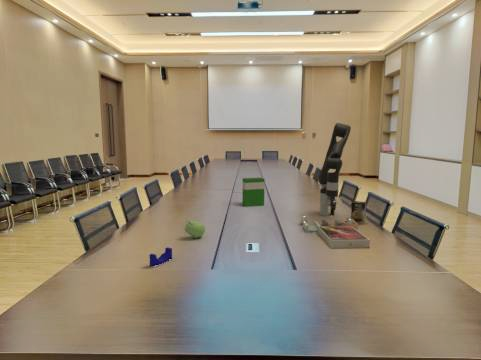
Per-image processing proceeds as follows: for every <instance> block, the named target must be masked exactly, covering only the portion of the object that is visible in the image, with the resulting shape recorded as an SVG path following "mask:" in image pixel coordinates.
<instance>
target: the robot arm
mask: <svg viewBox="0 0 481 360" xmlns="http://www.w3.org/2000/svg"><path fill="white" fill-rule="evenodd" d="M350 133H351V125H349V124H344V123H340V122H337V123H335V124H334V126H333V130H332V134H331V138H330V141H329V142H330V143H329V146H328V148H327V151H326V154H325V158H324V161H323V164H322V167H321V170H320V172H319V174H318V178H317V179H318V183H319V184H320V185H325V186H324V187H322V188H320V194H319V215H320V216H323V217H324V216H325V217H328V216H327V214H328V206H329V205H330V209H331V210H330V215H331V216H333V217H335V216H334V210H335V211H336V208H337V201H336V198H337V197H339V188H340V187H339V178H340V173H341V169H342V166H343V160H342V159H341V158H342V155H343V151H344V149H345V146H346V143H347V142H348V139H349V136H350ZM337 137H338V138H341V139H340V140H338V139H337ZM337 140H338V141H337ZM330 170H334V172H330ZM331 216H330V217H331Z"/></svg>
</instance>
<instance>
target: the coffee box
mask: <svg viewBox="0 0 481 360" xmlns="http://www.w3.org/2000/svg"><path fill="white" fill-rule="evenodd" d="M350 210H351V212H350V218H353V219H354V221H355V222H356V223H357V224H358V225H365V224H366V214H367V201H361V200H360V201H358V200H357V201H356V200H353V201H351V209H350Z"/></svg>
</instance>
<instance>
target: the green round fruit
mask: <svg viewBox="0 0 481 360" xmlns="http://www.w3.org/2000/svg"><path fill="white" fill-rule="evenodd" d="M186 222H187V223H186V224H185V227H183V229H184V231H185V233H187V235H189V236H191V237H192V238H194V239H197V238H198V239H199V238H201V237H203V235H204V234H205V232H206V227H205V225H204V224H203V223H201V222H199V221H197V220H190V221H189V220H186Z"/></svg>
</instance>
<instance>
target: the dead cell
mask: <svg viewBox="0 0 481 360" xmlns="http://www.w3.org/2000/svg"><path fill="white" fill-rule="evenodd" d="M345 221H346V224H353V223H354V219H353V218H351V217H346V219H345Z"/></svg>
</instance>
